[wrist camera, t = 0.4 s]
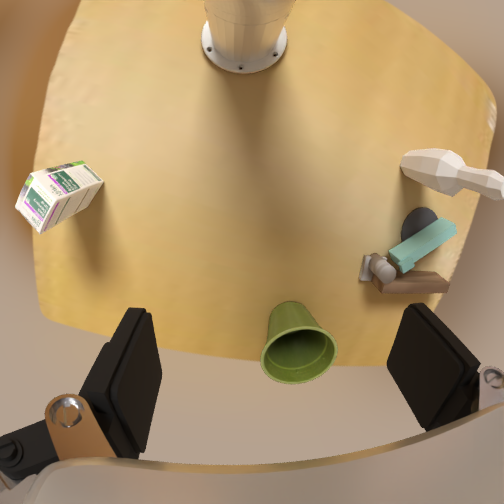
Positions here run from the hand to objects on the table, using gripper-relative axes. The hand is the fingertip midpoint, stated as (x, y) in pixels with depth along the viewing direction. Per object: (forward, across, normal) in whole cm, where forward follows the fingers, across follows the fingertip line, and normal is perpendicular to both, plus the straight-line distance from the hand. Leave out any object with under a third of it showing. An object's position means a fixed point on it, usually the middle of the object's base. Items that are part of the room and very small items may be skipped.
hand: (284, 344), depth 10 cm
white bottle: (+36, -28, -6) cm, 46 cm away
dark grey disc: (+36, -32, +6) cm, 48 cm away
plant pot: (+36, -8, +23) cm, 43 cm away
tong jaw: (+34, -31, +7) cm, 47 cm away
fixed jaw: (+36, -30, +13) cm, 48 cm away
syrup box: (+36, +26, -2) cm, 45 cm away
